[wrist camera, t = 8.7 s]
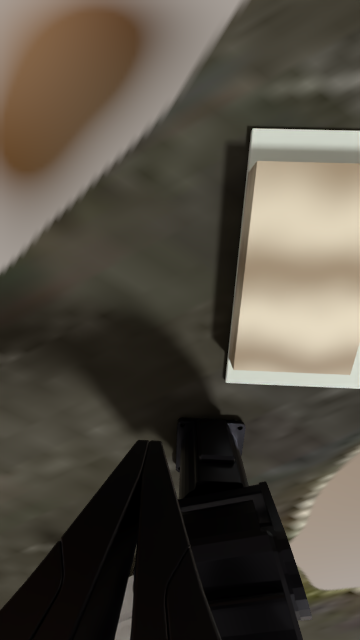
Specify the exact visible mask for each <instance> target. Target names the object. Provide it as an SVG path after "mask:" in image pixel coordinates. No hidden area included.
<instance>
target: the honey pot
mask: <svg viewBox="0 0 360 640" xmlns="http://www.w3.org/2000/svg"><path fill="white" fill-rule="evenodd" d="M133 581H134V575H132V576H130V577H129V579H128V583H127V587H126V592H125V596H124V600H123V605H122V609H121V613H120V618H119V622H118V626H117V631H116V635H115V640H130V635H131V621H132V607H133Z"/></svg>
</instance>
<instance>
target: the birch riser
mask: <svg viewBox="0 0 360 640" xmlns="http://www.w3.org/2000/svg"><path fill="white" fill-rule="evenodd" d="M359 343H360V164H359V163H319V162H279V161H257V162H256V163H255V165H254V166H253V167H252V168H251V170H250V171H249V172H248V179H247V188H246V198H245V207H244V217H243V226H242V236H241V245H240V255H239V264H238V274H237V283H236V292H235V302H234V311H233V321H232V330H231V340H230V349H229V360H230V363H231V365H232V368H233V370H246V371H269V372H293V373H316V374H340V375H350V374H351V371H352V367H353V364H354V361H355V357H356V354H357V350H358V347H359Z"/></svg>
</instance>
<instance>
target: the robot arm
mask: <svg viewBox="0 0 360 640" xmlns="http://www.w3.org/2000/svg"><path fill="white" fill-rule="evenodd" d="M181 423H184V424H181ZM238 426H241V427H238ZM244 434H245V425H244V423H243V422H242V421H235V420H214V419H192V418H180V419H179V420H178V423H177V450H176V470H177V471H178V472H180V482H179V499H177V495H176V492H175V488H174V484H173V481H172V477H171V474H170V470H169V466H168V463H167V459H166V456H165V452H164V449H163V445H162V442H161V441H153V440H152V441H150V442H149V441H148V440H138V441H137V442H136V443H135V444H134V446H133V447H132V448H131V449H130V451H129V452H128V453H127V455H126V456H125V457H124V458H123V460H122V461H121V462H120V463H119V465H118V466H117V467H116V469H115V470H114V471H113V472H112V474H111V475H110V476H109V477H108V479H107V480H106V481H105V482H104V484H103V485H102V486H101V488H100V489H99V490H98V491H97V493H96V494H95V495H94V496H93V498H92V499H91V500H90V502H89V503H88V504H87V505H86V507H85V508H84V509H83V510H82V512H81V513H80V514H79V516H78V517H77V518H76V519H75V521H74V522H73V523H72V524H71V526H70V527H69V528H68V529H67V531H66V532H65V533H64V535H63V536H62V537H61V541H58V542H57V543H56V544H55V546H54V547H53V548H52V550H51V551H50V552H49V553H48V555H47V556H46V557H45V559H44V560H43V561H42V562H41V563H40V565H39V566H38V567H37V568H36V569H35V571H34V572H33V573H32V574H31V576H30V577H29V578H28V579H27V580H26V582H25V583H24V584H23V585H22V586H21V587H20V588H19V590H18V591H17V592H16V593H15V594H14V595H13V596H12V598H11V599H10V600H9V601H8V602H7V603H6V604H5V605H4V607H3V608H2V609H1V610H0V640H115V635H116V631H117V626H118V622H119V618H120V613H121V609H122V605H123V600H124V596H125V592H126V587H127V583H128V579H129V574H130V570H131V566H132V561H133V557H134V553H135V548H136V544H137V550H136V564H135V567H134V581H133V607H132V621H131V635H130V640H303V638H302V635H301V631H300V628H299V624H298V621H297V620H301V621H302V620H311V619H312V616H311V612H310V608H309V604H308V601H307V597H306V594H305V591H304V587H303V584H302V581H301V578H300V575H299V572H298V569H297V565H296V562H295V559H294V556H293V553H292V551H291V548H290V545H289V542H288V539H287V536H286V533H285V531H284V528H283V525H282V523H281V520H280V517H279V515H278V512H277V509H276V507H275V504H274V501H273V499H272V496H271V493H270V491H269V488H268V485H267V483H266V482H261V483H259V484H258V485H253V486H249V485H248V481H247V478H246V474H245V470H244V466H243V462H242V459H241V455H242V448H243V441H244Z"/></svg>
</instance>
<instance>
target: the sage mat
mask: <svg viewBox="0 0 360 640" xmlns="http://www.w3.org/2000/svg"><path fill="white" fill-rule="evenodd" d="M257 161H279V162H319V163H359V164H360V131H345V130H300V129H256V128H253V129H252V131H251V138H250V147H249V157H248V167H247V176H246V186H245V195H244V205H243V215H242V224H241V234H240V243H239V253H238V263H237V272H236V282H235V291H234V301H233V311H234V302H235V292H236V283H237V274H238V264H239V255H240V245H241V236H242V226H243V217H244V207H245V198H246V188H247V179H248V172H249V171H250V170H251V168H252V167H253V166H254V165H255V163H256V162H257ZM233 311H232V320H231V330H232V321H233ZM231 330H230V339H229V349H230V340H231ZM229 349H228V359H227V368H226V378H225V381H226V383H243V384H266V385H289V386H312V387H335V388H358V389H360V343H359V347H358V350H357V354H356V357H355V361H354V364H353V367H352V371H351V374H350V375H340V374H316V373H293V372H269V371H246V370H233V368H232V365H231V363H230V360H229Z"/></svg>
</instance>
